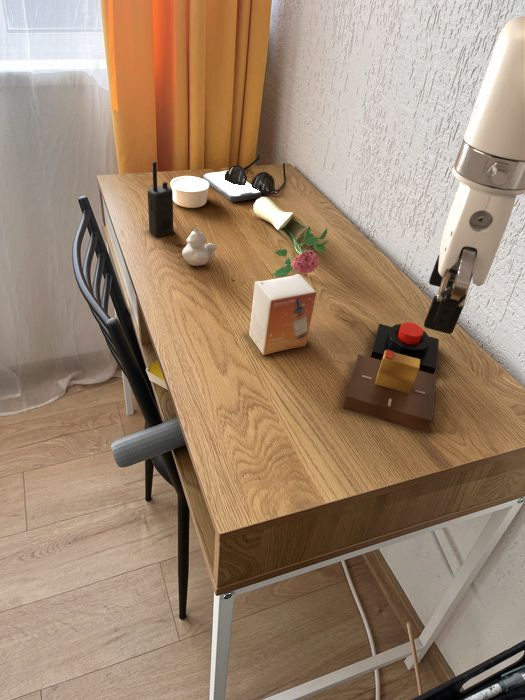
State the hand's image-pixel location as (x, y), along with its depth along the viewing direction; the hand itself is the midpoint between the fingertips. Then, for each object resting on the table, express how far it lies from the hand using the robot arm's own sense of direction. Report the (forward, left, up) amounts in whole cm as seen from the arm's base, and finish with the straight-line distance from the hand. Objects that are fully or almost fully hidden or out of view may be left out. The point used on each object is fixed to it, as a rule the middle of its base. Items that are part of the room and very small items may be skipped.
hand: (439, 306), depth 63 cm
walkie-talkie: (+54, -34, -19) cm, 67 cm away
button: (+1, -14, -15) cm, 21 cm away
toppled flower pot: (+28, -37, -19) cm, 50 cm away
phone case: (+49, -63, -19) cm, 82 cm away
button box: (+1, -14, -19) cm, 24 cm away
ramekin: (+55, -51, -19) cm, 77 cm away
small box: (+21, -9, -19) cm, 30 cm away
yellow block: (+2, -3, -16) cm, 17 cm away
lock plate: (+2, -3, -19) cm, 19 cm away
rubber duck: (+42, -26, -19) cm, 53 cm away
